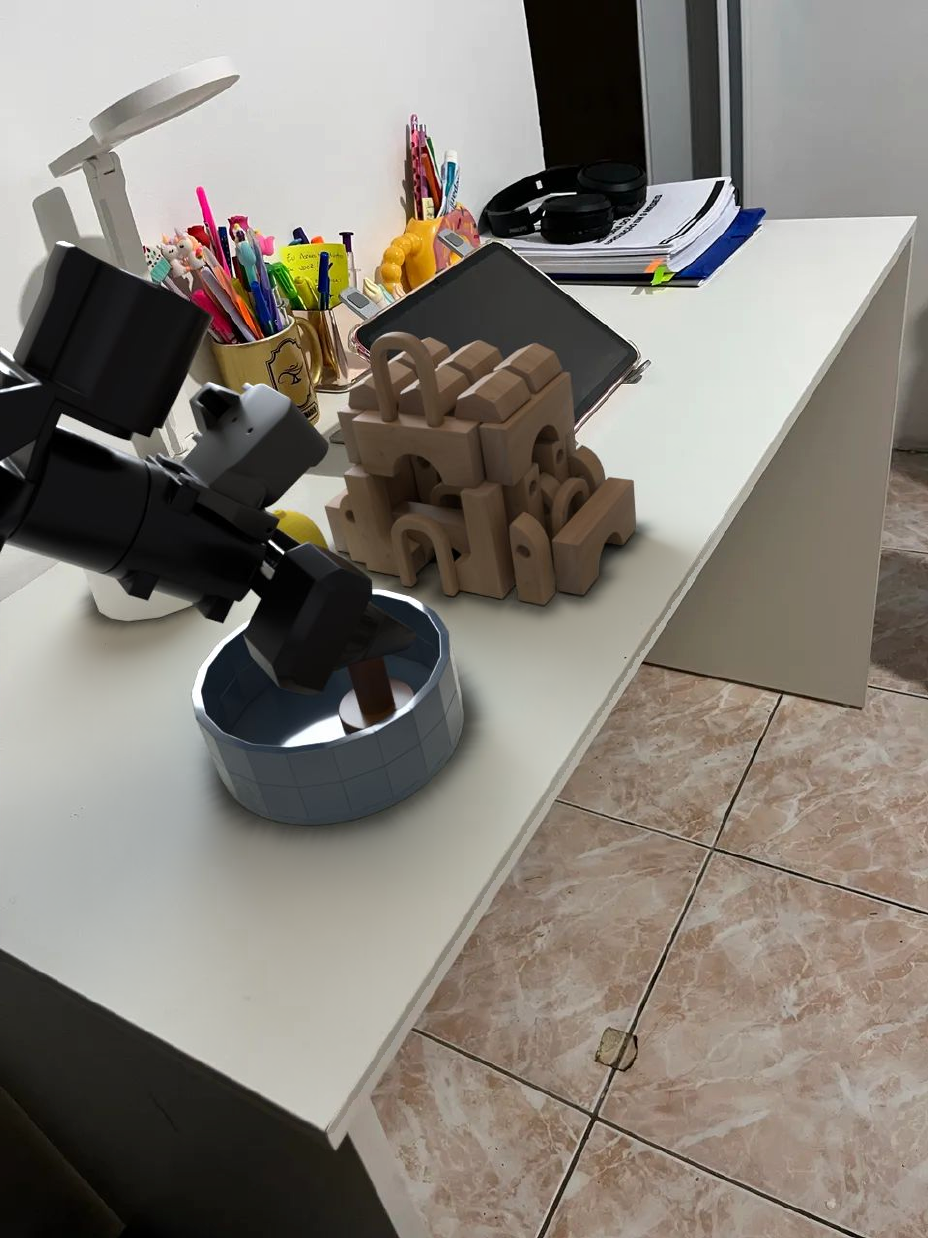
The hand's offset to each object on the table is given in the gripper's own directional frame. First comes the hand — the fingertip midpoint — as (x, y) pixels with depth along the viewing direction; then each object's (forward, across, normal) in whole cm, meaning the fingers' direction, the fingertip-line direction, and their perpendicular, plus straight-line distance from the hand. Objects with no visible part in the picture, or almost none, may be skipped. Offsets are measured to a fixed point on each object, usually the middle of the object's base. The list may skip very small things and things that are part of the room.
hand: (370, 606), depth 55 cm
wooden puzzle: (+17, +13, -5) cm, 21 cm away
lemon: (+7, +16, +5) cm, 18 cm away
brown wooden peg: (+4, 0, +6) cm, 7 cm away
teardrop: (+2, +28, +10) cm, 29 cm away
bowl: (+3, +1, +8) cm, 9 cm away
